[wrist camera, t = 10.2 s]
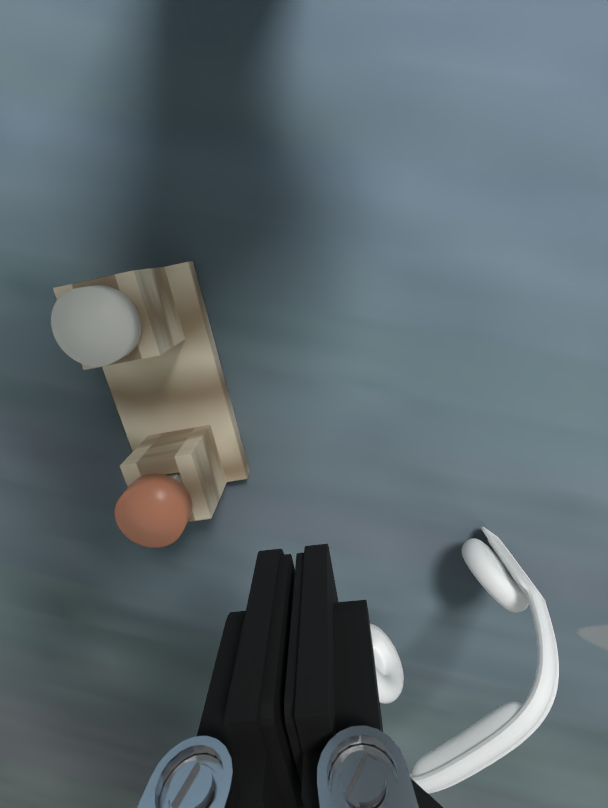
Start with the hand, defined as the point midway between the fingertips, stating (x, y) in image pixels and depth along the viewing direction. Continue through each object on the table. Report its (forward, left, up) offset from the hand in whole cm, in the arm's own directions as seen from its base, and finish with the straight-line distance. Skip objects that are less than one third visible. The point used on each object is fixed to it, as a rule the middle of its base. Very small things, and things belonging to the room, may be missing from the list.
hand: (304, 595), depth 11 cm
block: (+1, -14, -30) cm, 33 cm away
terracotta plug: (+8, -14, -27) cm, 31 cm away
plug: (-6, -14, -28) cm, 32 cm away
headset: (+27, +6, -30) cm, 41 cm away
